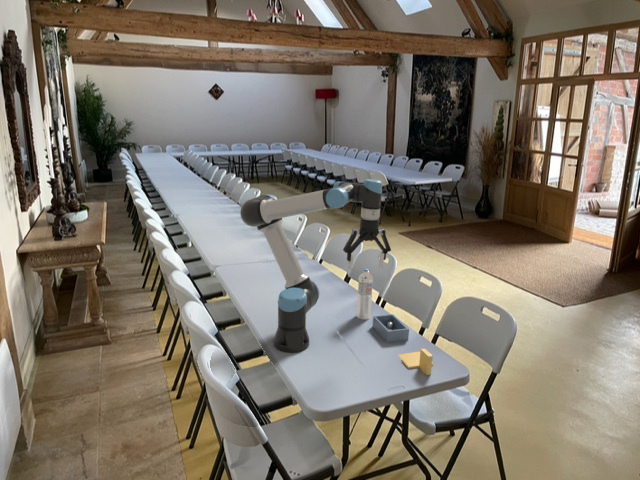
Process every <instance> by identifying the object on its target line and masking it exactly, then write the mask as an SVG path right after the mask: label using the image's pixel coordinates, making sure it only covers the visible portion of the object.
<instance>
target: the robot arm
mask: <svg viewBox="0 0 640 480" xmlns="http://www.w3.org/2000/svg"><path fill="white" fill-rule="evenodd" d="M382 196H383V182H382V181H381V180H378V179H373V178H372V179H371V178H367V179H364V180H363V183H355V182H348V181H336V182H334V184H333V187H331V188H326V189H322V190H316V191H313V192H307V193H303V194H297V195H293V196H289V197H283V198H279V199H277V198H276V197H275V196H273V195H271V194H261V195H258V196H257V197H256V196H255V197H254V198H251V199H248V200H246V201H245V202H244V203H243V204H242V205H241V208H240V213H239V214H240V218H241V220H242V221H243V223H244V224H245V225H247V226H249V227H253V228H257V230H258V231H259V232H260V233H263V235H264V237H265V239H266V241H267V244H268V245H269V248H270V250H271V252H272V254H273V256H274V259H275V260H276V261H275V262H277V263H276V264H277V265H278V266H279V269H280V271H281V273H282V276H283V278H284V280H285V285H284V289H283V290H281V291H280V293H279V294H278V300H277V305H278V306H277V313H278V314H277V329H276V331H275V334H274V336H273V337H274V338H273V346H274V347H275V349H277V350H279V351H281V352H286V353H298V352H302V351H304V350H306V349H308V347H309V346H310V336H309V334H308V330H307V326H306V325H307V323H306V322H307V313H308V312H309V311H310V310H311V309H312V308H313V307H315V305H316V304H317V302H318V300H319V298H320V295H321V293H320V288H319V285H318V284H317V283H316V282H315V281H313V280H311V277H310V275H308V274H305V273H304V271H303V269H302V266H301V265H300V262H299V260H298V258H297V255H296V254H295V252H294V249H293V247H292V245H291V243H290V241H289V240H290V239H288V236H287V234H286V232H285V230H284V228H283V226H282V223H283V221H284V220H283V218H284V219H285V218H288V217H294V216H297V215H303V214H308V213H312V212H313V213H314V212H318V211H319V212H320V211H324V210H329V209H340V208H344V207H345V205H347V204H349V203H350V202H352V203H353V202H354V203H361V211H360V212H361V213H360V217H361V218H360V219H359V220H360V223H359V229H357V230H356V229H354V228H353V229H352V230H351V234H350V236H349V238H348V239H347V242H346V243H345V245H344V247H343V249H342V251H343V252H344V253H345V254H346V260H347V262H348V265H347V266H348V269H350V270H353V265H354V263H353V262H354V254H353V253H354V251H356V250H357V248H358V247H359V246H360V245H361V244H362V243H363V242H364V241H365V242H368V241H369V242H372V241H374V242H375V244H376V245H377V246H378V248H379V249H380V250H381V251H379V257H378V258H379V259H378V261H379V262H378V267H379V268H380V269H383V268H384V261H386V259H387V254H388V253H389V252H391V251H392V249H391V246H390V243H389V241H388V238H387V235H386V233H387V232H386V230H385V229H384V228H380V229H379V226H380V216H381V204H382ZM358 235H359V236H358ZM378 235H380V237H381V239H382V241H383V242H381V240H380V239H379V238H378V237H377V236H378ZM357 236H358V237H357ZM355 239H356V240H355Z"/></svg>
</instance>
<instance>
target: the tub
mask: <svg viewBox="0 0 640 480" xmlns="http://www.w3.org/2000/svg"><path fill="white" fill-rule="evenodd" d="M388 321H391V322H393V330H388V329H387V322H388ZM372 328H373V329H374V330H375V331H376V333H378V335H380V337H382V338H383V340H384V341H385V342H386V343H389V344H390V343H395V342H404V341H409V333H410V329H409V328H408V326H406V325H405V323H403V322H402V321H401V320H400V319H399V318H398V317H397V316H395V314H393V313H391V314H383V315H373V316H372Z"/></svg>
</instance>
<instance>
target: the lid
mask: <svg viewBox="0 0 640 480" xmlns="http://www.w3.org/2000/svg"><path fill="white" fill-rule="evenodd" d="M397 356H398V357H399V358H400V359H401V360H400V361H401V362H402V363H403V364H404V365H405V367H406V368H408V370H409V369H410V370H411V369H416V368H419V369H420V370H421V371H422V373H424V374H425V375H426V376H430V374H431V375H432V369H433V368H432V367H433V366H434V363H433V359H434V358H433V354H432V353H430V352H429V351H428V350H427V349H426V348H420V351H414V352H413V351H412V352H407V353H401V354H397Z"/></svg>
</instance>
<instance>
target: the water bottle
mask: <svg viewBox="0 0 640 480" xmlns="http://www.w3.org/2000/svg"><path fill="white" fill-rule="evenodd" d="M357 280H358V288H357V299H356V318H357V319H358V320H362V321H367V320H369V319H371V316H372V315H371V314H372V301H373V299H372V298H373V282H374V278H373V276H372V274H371V273H370V272H369V269H368V268H364V272H363V273H361V274H360V275H358V279H357Z"/></svg>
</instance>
